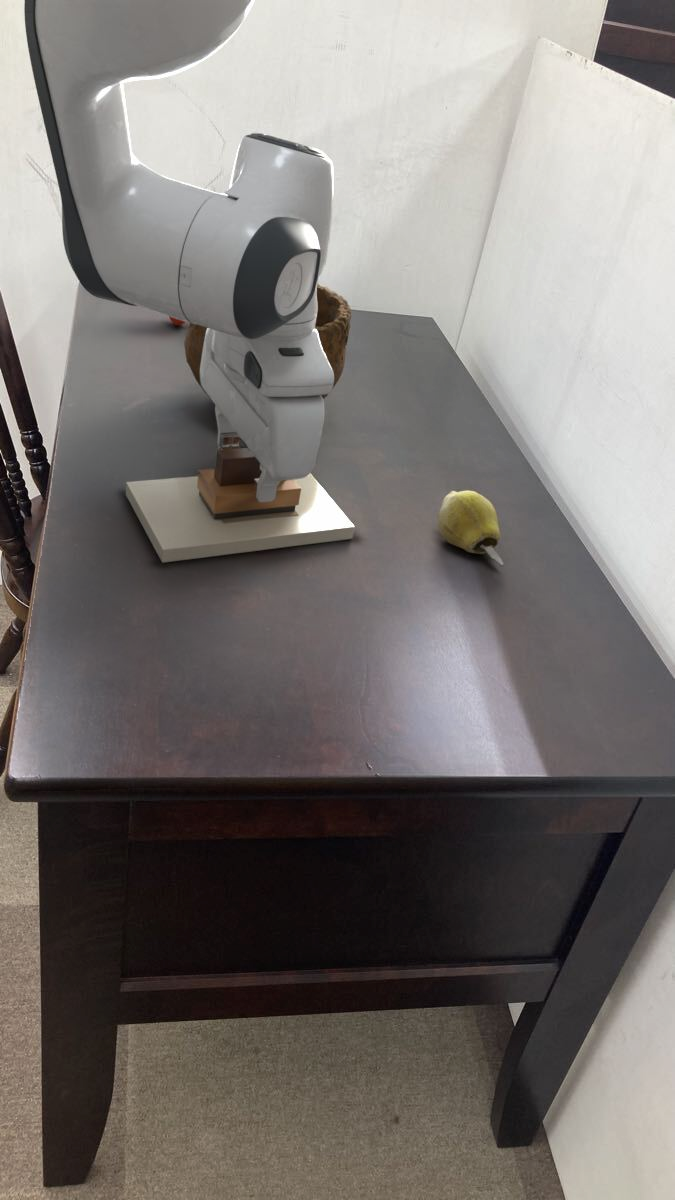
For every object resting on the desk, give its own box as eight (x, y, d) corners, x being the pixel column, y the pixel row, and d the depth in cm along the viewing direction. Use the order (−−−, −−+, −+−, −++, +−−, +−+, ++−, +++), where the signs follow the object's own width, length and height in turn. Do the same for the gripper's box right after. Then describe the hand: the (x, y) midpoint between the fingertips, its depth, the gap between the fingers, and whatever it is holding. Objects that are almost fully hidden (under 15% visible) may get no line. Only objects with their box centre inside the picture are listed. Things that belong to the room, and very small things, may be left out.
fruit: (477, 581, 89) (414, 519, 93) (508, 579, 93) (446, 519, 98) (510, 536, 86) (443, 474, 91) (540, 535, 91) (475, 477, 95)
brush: (213, 521, 86) (219, 468, 83) (196, 494, 89) (201, 442, 86) (297, 512, 90) (306, 461, 87) (278, 486, 93) (285, 437, 90)
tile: (162, 563, 82) (163, 548, 81) (125, 494, 90) (126, 481, 89) (352, 539, 91) (355, 525, 90) (303, 478, 99) (306, 466, 98)
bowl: (339, 397, 118) (361, 284, 109) (323, 462, 103) (347, 338, 94) (199, 367, 117) (210, 252, 108) (163, 429, 102) (172, 300, 93)
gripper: (190, 292, 85) (179, 424, 93) (274, 388, 71) (253, 532, 79) (251, 293, 87) (236, 421, 96) (344, 385, 74) (317, 525, 82)
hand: (244, 472), depth 87 cm, fingers open, 8 cm apart
